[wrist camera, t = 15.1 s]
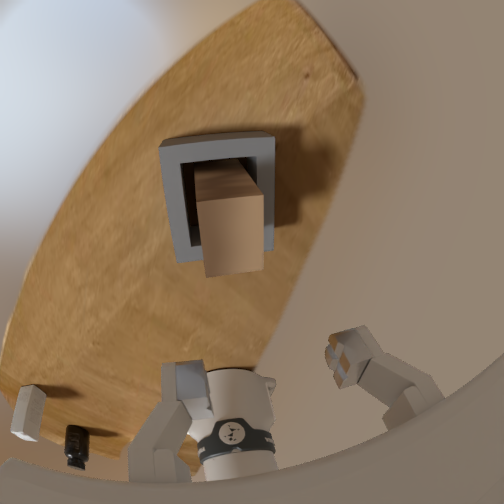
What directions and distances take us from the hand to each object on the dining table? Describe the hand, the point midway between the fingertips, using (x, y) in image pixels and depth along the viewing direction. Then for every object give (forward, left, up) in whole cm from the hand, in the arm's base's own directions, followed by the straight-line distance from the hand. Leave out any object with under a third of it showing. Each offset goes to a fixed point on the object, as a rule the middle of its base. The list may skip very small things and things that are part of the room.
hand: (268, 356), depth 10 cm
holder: (0, 0, -19) cm, 19 cm away
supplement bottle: (-56, +44, -19) cm, 74 cm away
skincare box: (-35, +44, -19) cm, 60 cm away
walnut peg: (0, 0, -19) cm, 19 cm away
